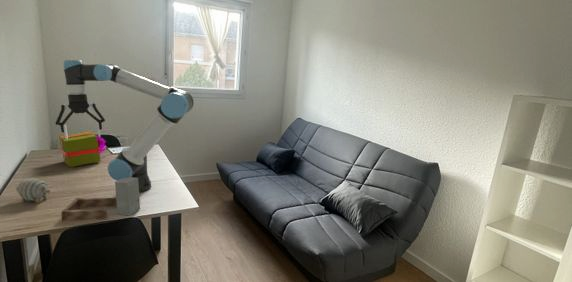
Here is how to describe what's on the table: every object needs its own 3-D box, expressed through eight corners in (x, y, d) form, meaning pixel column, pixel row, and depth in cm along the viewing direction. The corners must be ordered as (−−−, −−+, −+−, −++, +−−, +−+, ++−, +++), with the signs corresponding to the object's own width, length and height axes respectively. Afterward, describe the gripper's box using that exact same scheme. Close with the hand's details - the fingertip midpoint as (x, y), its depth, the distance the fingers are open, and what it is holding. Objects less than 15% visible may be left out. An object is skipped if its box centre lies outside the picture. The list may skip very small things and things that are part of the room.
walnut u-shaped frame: (62, 220, 139) (61, 211, 138) (77, 206, 153) (76, 198, 152) (106, 219, 142) (105, 210, 141) (116, 205, 156) (116, 197, 155)
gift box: (69, 173, 203) (112, 163, 220) (64, 143, 195) (109, 136, 211) (61, 159, 216) (102, 151, 233) (57, 131, 208) (99, 125, 224)
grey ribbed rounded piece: (27, 195, 161) (25, 174, 158) (60, 198, 160) (58, 176, 157) (8, 203, 150) (5, 181, 148) (43, 206, 150) (40, 184, 147)
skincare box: (129, 216, 146) (127, 183, 142) (115, 214, 147) (113, 181, 144) (141, 208, 154) (139, 177, 150) (128, 206, 155) (126, 175, 152)
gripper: (107, 92, 161) (112, 133, 165) (46, 94, 149) (53, 138, 154) (107, 93, 154) (112, 136, 159) (43, 95, 143) (51, 141, 148)
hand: (83, 137), depth 157 cm, fingers open, 13 cm apart
